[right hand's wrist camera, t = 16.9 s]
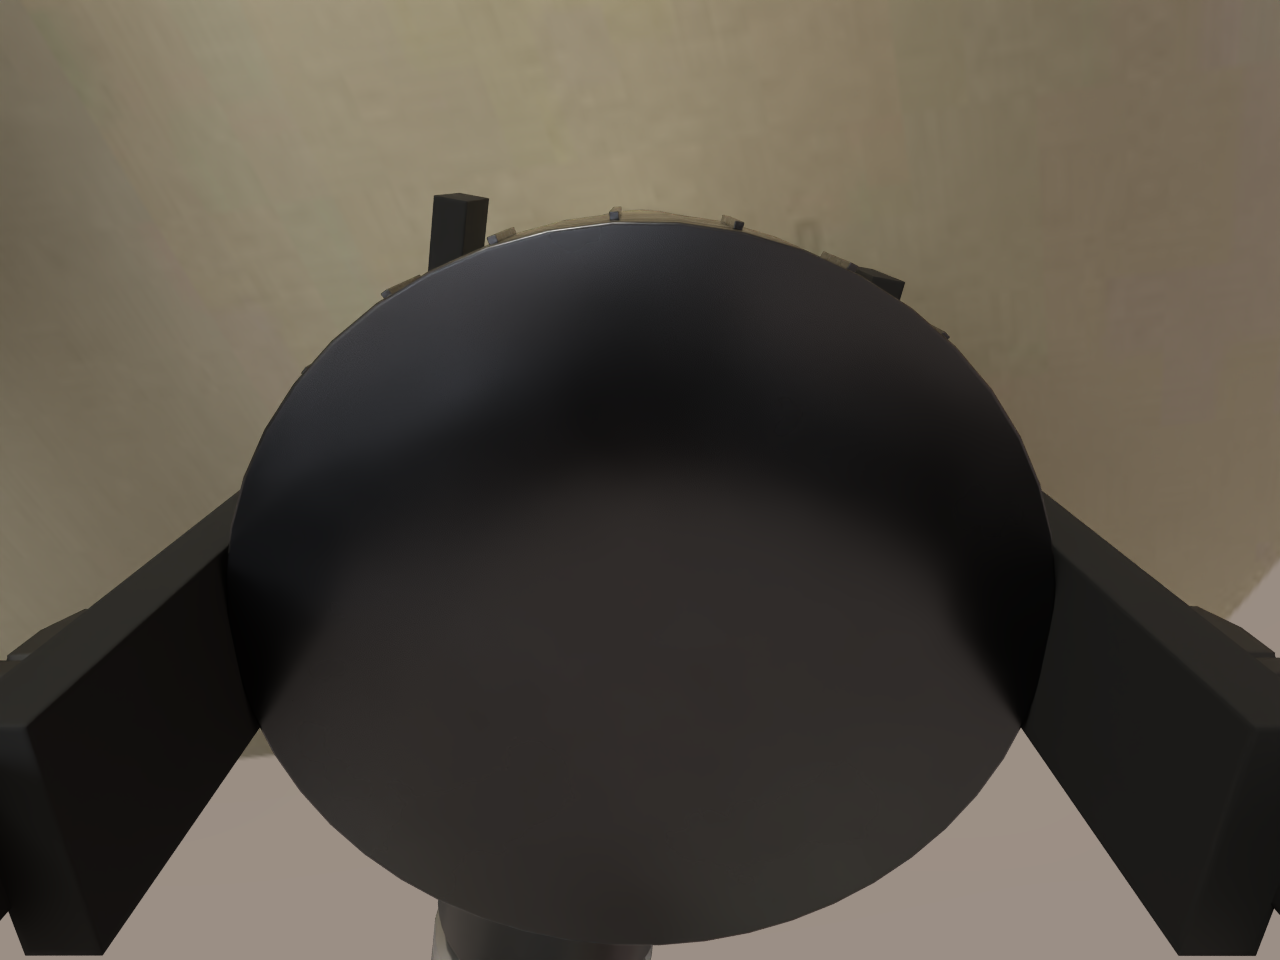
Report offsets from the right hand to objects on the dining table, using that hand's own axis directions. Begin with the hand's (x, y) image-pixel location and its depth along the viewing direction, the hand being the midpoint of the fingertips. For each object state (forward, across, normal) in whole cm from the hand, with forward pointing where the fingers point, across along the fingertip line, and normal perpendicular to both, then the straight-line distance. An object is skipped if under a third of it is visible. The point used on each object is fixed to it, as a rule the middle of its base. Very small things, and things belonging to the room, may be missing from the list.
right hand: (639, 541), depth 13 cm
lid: (-3, 0, 0) cm, 3 cm away
